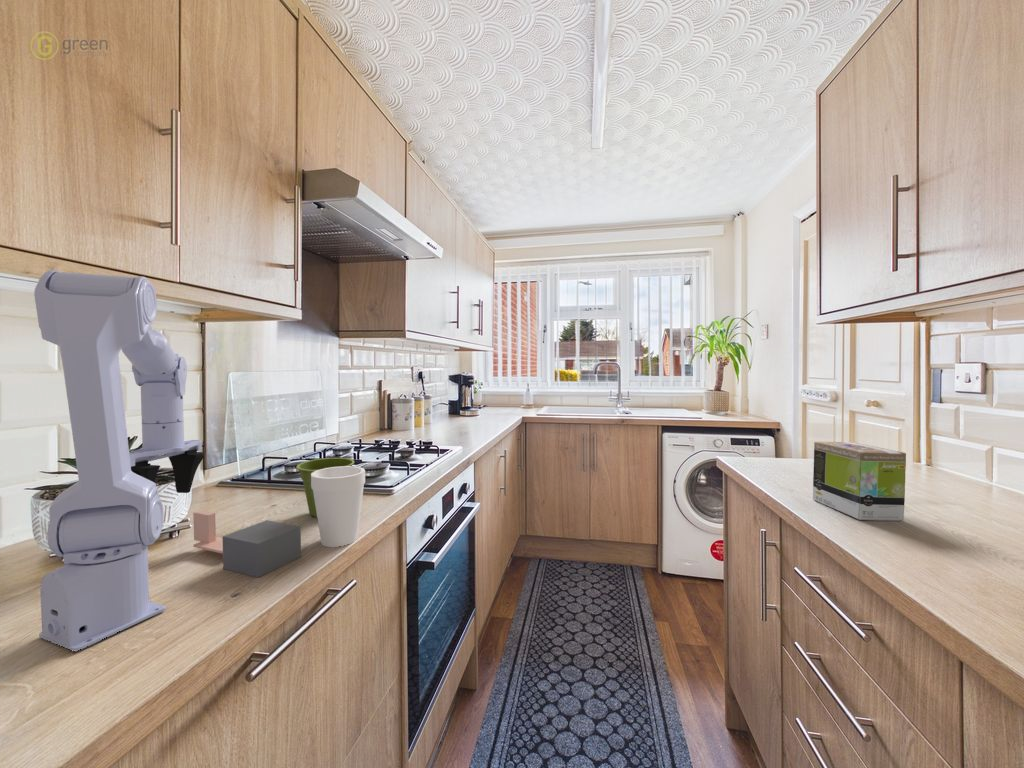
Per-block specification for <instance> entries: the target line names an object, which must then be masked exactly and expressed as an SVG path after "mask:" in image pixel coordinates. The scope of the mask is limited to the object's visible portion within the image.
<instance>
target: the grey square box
mask: <svg viewBox="0 0 1024 768" xmlns="http://www.w3.org/2000/svg"><path fill="white" fill-rule="evenodd" d="M301 529H302V528H301V525H297V524H291V523H285V522H280V521H279V522H278V521H274V520H268V519H267V520H264V521H260V522H259V523H255V524H254V525H250V526H247V527H245V528H242V529H239V530H236V531H234V532H231V533H228V534H225V535H223V536H222V537H221V538H223V554H222V568H223V570H227V571H231V572H236V573H240V574H243V575H248V576H251V577H254V578H255V577H256V578H260V577H263V576H264V575H266V574H269V573H271V572H273V571H275V570H277V569H278V568H281V567H283V566H285V565H288V564H290V563H291V562H293V561H296V560H297V559H299V558H301V557H302V544H301V543H302V538H301V537H302V534H301V532H302V531H301Z"/></svg>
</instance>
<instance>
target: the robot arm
mask: <svg viewBox="0 0 1024 768" xmlns="http://www.w3.org/2000/svg"><path fill="white" fill-rule="evenodd" d="M33 293H34V295H33V296H34V301H35V302H34V303H35V308H36V315H37V322H38V327H39V329H40V335H41V338H42V340H45V341H47V342H49V343H50V344H54V345H56V346H58V347H59V352H60V359H61V363H62V368H63V370H62V371H63V376H64V377H63V378H64V384H65V391H66V399H67V405H68V413H69V420H70V426H71V427H70V428H71V434H72V440H73V449H74V455H75V456H74V457H75V464H76V470H77V471H76V472H77V478H78V481H77V482H75V483H74V484H72V485H71V486H69V487H68V488H66V489H64V490H63V491H62V492H60V493H59V494H58V495H57V496H56V497H55V498H54V500H53V501H52V502H51V504H50V506H49V509H48V513H49V523H48V525H47V526H48V528H47V532H46V533H47V536H46V537H47V544H48V548H49V549H50V551H51V552H52V553H53V554H54V555H55V556H56V557H60V558H63V564H64V565H62V566H61V567H58V568H55V569H54V570H51V571H48V572H47V573H45V574H44V575H43V577H42V579H41V583H40V590H39V591H40V611H41V613H40V614H41V631H40V633H39V634H38V637H39V638H40V637H41V638H40V639H42V638H43V640H45V641H47V640H48V642H49V641H51V642H50V643H52V644H54V643H55V644H54V645H56V644H58V645H57V646H59V645H60V646H59V647H61V646H63V647H65V648H64V649H66V648H68V649H70V650H73V651H74V650H75V652H77V651H76V650H79V651H81V650H83V649H86V648H88V647H89V646H92V645H94V644H97V643H99V642H100V641H103V640H105V639H106V637H107V638H109V637H111V636H114V635H115V634H117V632H118V633H119V631H120V632H121V631H124V630H125V629H128V628H130V627H133V626H135V625H136V624H139V623H141V622H143V621H145V620H147V619H149V618H152V617H153V616H156V615H158V614H160V613H162V612H164V611H165V610H167V607H166V605H164V604H161V603H157V602H154V601H150V580H149V579H150V577H149V545H153V544H154V543H156V541H157V540H158V539H159V538H160V536H161V534H162V531H163V526H164V525H163V524H164V518H165V517H164V516H165V515H164V504H163V502H162V500H161V499H160V495H159V489H158V487H157V484H156V479H157V475H158V472H159V469H160V467H161V466H160V465H158V464H157V465H156V464H151V462H152V461H157V460H163V459H166V458H168V459H169V462H170V464H171V466H172V471H173V474H174V475H173V476H174V486H175V490H176V494H188V493H190V492H191V489H192V486H193V482H194V478H195V475H196V473H197V470H198V468H199V466H200V464H201V463H202V461H203V459H204V458H205V452H204V451H203V440H202V439H191V440H185V430H184V429H185V424H184V395H186V381H187V377H188V368H187V367H188V366H187V361H186V358H185V357H184V356H180V355H179V353H175V352H174V349H172V347H171V345H170V343H169V342H168V340H167V338H166V337H165V335H164V334H163V333H162V332H160V331H157V330H155V329H153V327H152V323H153V322H154V321H155V320H156V316H157V311H158V303H157V301H158V300H157V295H156V294H157V293H156V290H155V287H154V285H153V283H152V282H151V281H149V279H148V278H147V277H145V276H142V275H141V276H139V275H137V276H125V275H109V274H95V273H80V272H68V271H67V272H65V271H60V270H58V269H57V270H56V269H55V270H54V269H50V270H49V269H48V270H47V271H45V272H44V273H43V275H41V276H40V278H39V280H38V282H37V284H36V285H35V288H34V292H33ZM121 351H122V353H123V355H124V356H125V357H126V358H127V360H128V361H129V362H130V363H131V372H132V373H133V377H134V380H135V384H136V385H137V386H139V387H140V406H141V407H140V408H141V409H140V410H141V412H140V413H141V436H142V437H141V441H142V445H141V446H142V448H139V449H136V450H132V451H130V449H129V439H128V432H127V431H128V429H127V422H126V421H127V419H126V412H125V411H126V410H125V404H124V393H123V386H122V377H121V375H122V374H121V367H120V366H121V365H120V358H119V353H120V352H121ZM104 638H105V639H104ZM102 639H103V640H102ZM87 646H88V647H87ZM63 647H62V648H63ZM68 649H67V650H68ZM80 649H81V650H80ZM70 650H69V651H70ZM73 651H72V652H73Z"/></svg>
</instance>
